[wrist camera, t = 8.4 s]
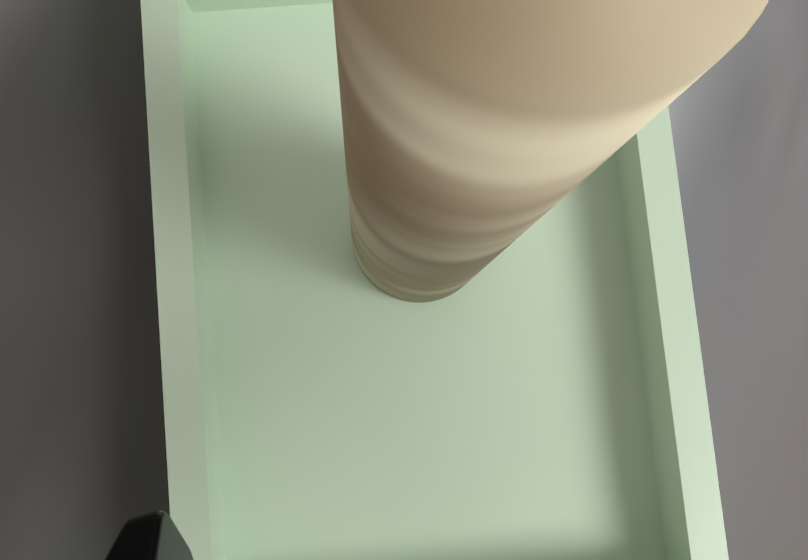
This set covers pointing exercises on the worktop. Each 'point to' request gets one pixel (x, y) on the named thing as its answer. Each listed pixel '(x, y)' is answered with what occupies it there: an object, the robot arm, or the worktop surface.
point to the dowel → (498, 115)
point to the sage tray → (406, 336)
